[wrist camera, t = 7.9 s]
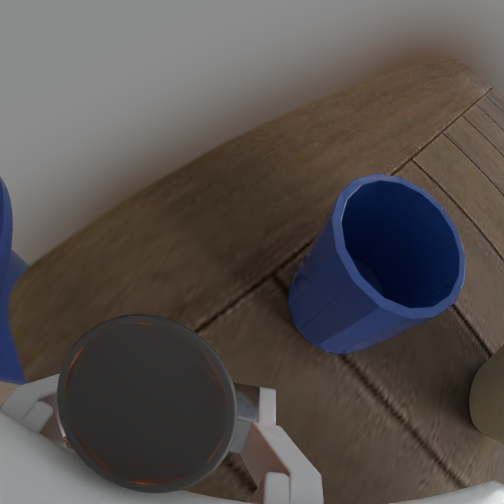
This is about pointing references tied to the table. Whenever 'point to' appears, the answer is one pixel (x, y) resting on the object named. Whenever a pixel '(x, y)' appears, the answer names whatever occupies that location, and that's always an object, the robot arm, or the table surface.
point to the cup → (376, 266)
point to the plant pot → (489, 397)
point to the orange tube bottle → (147, 403)
